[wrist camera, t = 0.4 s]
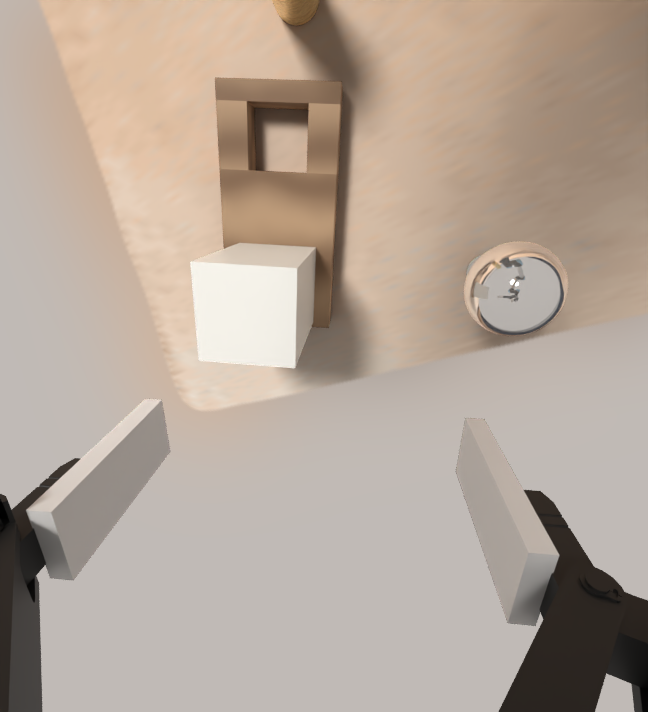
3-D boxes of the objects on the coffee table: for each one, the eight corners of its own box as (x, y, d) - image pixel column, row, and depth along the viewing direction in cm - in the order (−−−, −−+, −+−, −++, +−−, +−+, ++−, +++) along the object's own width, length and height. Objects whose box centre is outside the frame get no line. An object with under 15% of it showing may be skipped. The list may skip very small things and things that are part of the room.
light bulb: (535, 252, 36) (614, 277, 25) (491, 317, 38) (544, 366, 27) (469, 218, 35) (519, 227, 24) (429, 286, 38) (457, 324, 27)
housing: (239, 242, 35) (190, 261, 25) (315, 247, 35) (297, 268, 25) (242, 316, 38) (198, 360, 28) (313, 321, 37) (295, 368, 27)
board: (225, 85, 33) (155, 29, 22) (342, 89, 32) (332, 33, 21) (235, 313, 40) (187, 357, 29) (330, 320, 40) (318, 367, 29)
